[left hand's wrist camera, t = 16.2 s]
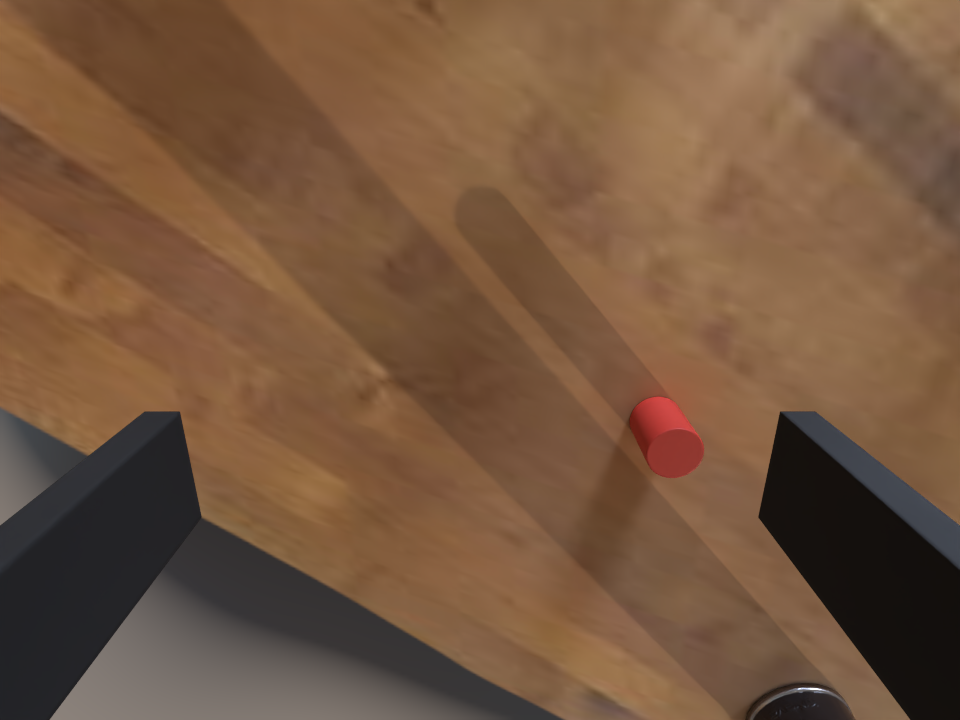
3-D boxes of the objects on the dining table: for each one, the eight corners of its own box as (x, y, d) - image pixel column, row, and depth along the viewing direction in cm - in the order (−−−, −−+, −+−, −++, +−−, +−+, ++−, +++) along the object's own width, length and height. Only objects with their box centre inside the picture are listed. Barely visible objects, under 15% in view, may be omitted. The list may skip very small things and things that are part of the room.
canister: (619, 416, 42) (635, 450, 38) (662, 386, 41) (684, 417, 37) (648, 450, 43) (667, 488, 39) (690, 422, 42) (715, 457, 38)
